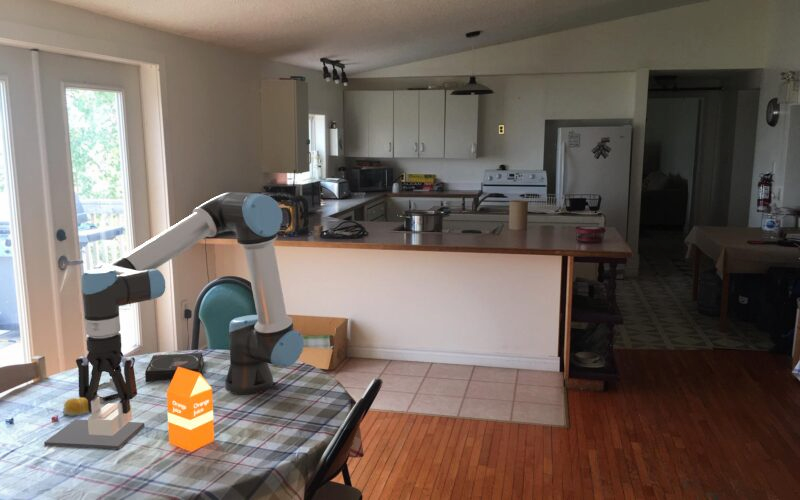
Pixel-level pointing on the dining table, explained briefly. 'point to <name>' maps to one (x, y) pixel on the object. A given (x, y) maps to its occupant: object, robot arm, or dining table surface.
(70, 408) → the bread roll
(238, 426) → the dining table surface
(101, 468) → the dining table surface
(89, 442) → the charcoal mat
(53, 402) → the dining table surface
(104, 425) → the block
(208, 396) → the orange juice
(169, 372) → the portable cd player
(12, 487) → the dining table surface
